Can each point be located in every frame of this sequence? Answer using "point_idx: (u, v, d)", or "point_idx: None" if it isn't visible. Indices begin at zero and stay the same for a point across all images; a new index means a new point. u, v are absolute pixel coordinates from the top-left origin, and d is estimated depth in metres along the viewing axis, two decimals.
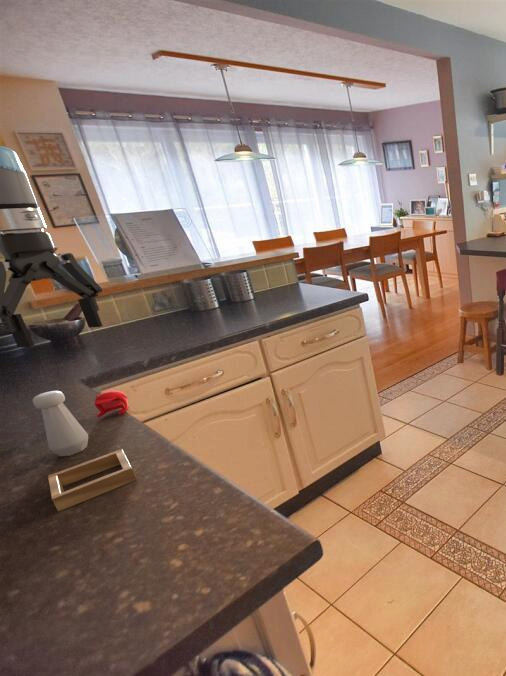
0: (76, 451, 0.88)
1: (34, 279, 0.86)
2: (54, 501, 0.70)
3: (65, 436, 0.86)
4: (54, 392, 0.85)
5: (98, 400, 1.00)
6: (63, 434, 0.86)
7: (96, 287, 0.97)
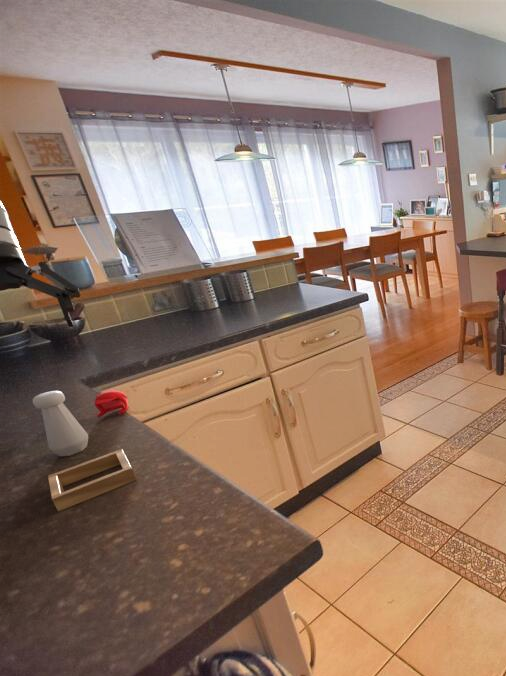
0: (76, 451, 0.88)
1: None
2: (54, 501, 0.70)
3: (65, 436, 0.86)
4: (54, 392, 0.85)
5: (98, 400, 1.00)
6: (63, 434, 0.86)
7: (70, 287, 0.95)
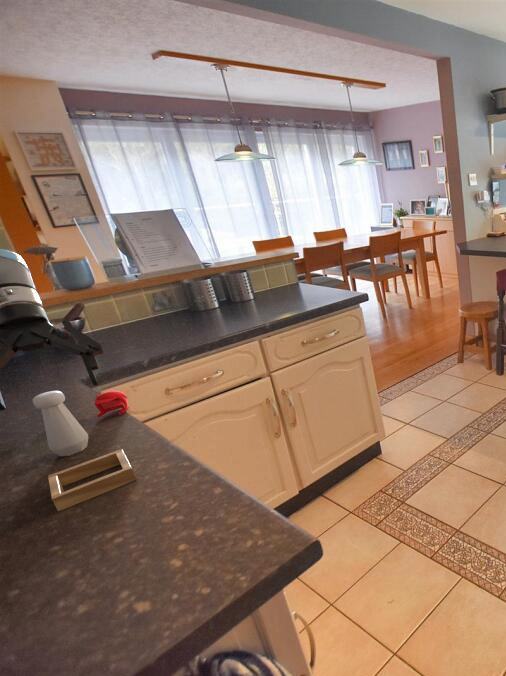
0: (76, 451, 0.88)
1: (19, 346, 0.89)
2: (54, 501, 0.70)
3: (65, 436, 0.86)
4: (54, 392, 0.85)
5: (98, 400, 1.00)
6: (63, 434, 0.86)
7: (94, 344, 0.95)
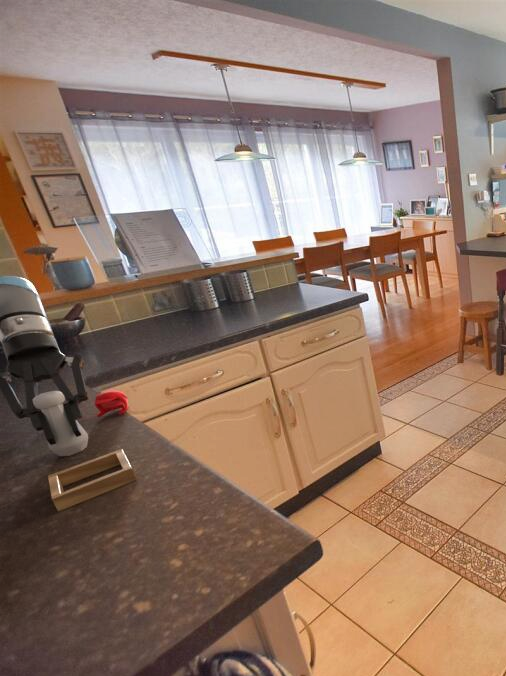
0: (76, 451, 0.88)
1: None
2: (54, 501, 0.70)
3: (65, 436, 0.86)
4: (54, 392, 0.85)
5: (98, 400, 1.00)
6: (63, 434, 0.86)
7: (80, 390, 0.89)
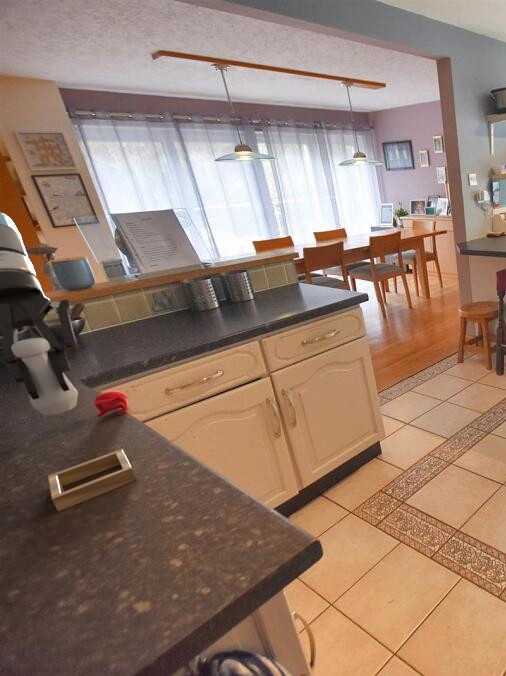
0: (64, 409, 0.75)
1: None
2: (54, 501, 0.70)
3: (50, 391, 0.73)
4: (37, 339, 0.72)
5: (98, 400, 1.00)
6: (48, 389, 0.73)
7: (67, 338, 0.76)
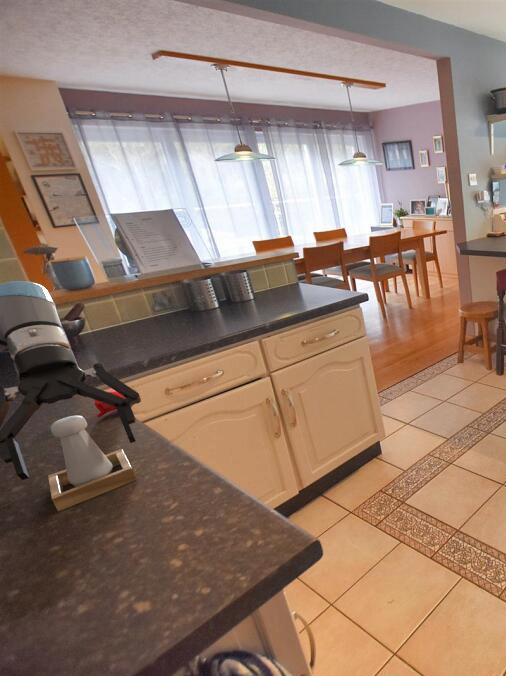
0: None
1: (44, 398, 0.75)
2: (54, 501, 0.70)
3: (87, 468, 0.74)
4: (75, 417, 0.74)
5: None
6: (85, 466, 0.74)
7: (130, 393, 0.81)
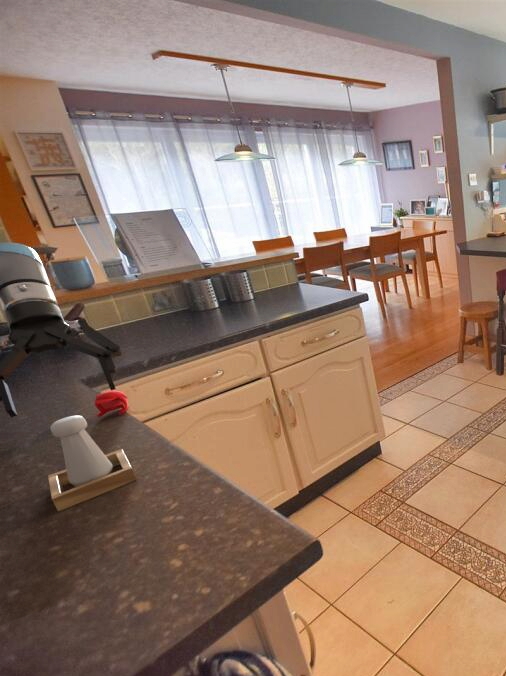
0: None
1: (32, 346, 0.83)
2: (54, 501, 0.70)
3: (87, 468, 0.74)
4: (75, 417, 0.74)
5: (98, 400, 1.00)
6: (85, 466, 0.74)
7: (111, 345, 0.89)
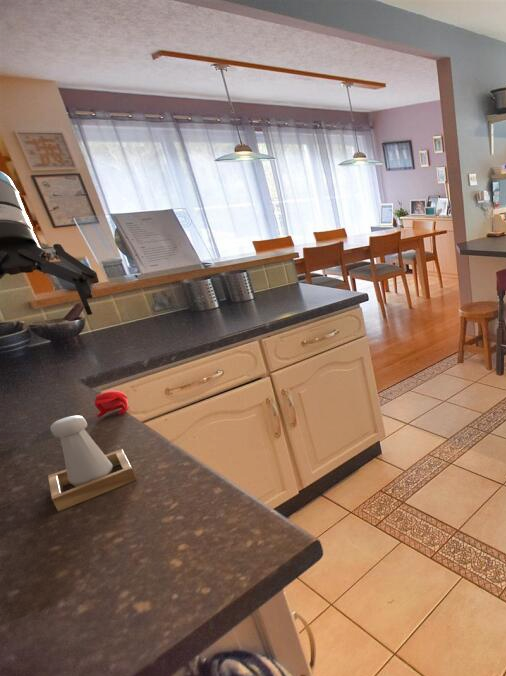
0: None
1: (5, 267, 0.81)
2: (54, 501, 0.70)
3: (87, 468, 0.74)
4: (75, 417, 0.74)
5: (98, 400, 1.00)
6: (85, 466, 0.74)
7: (88, 271, 0.87)
